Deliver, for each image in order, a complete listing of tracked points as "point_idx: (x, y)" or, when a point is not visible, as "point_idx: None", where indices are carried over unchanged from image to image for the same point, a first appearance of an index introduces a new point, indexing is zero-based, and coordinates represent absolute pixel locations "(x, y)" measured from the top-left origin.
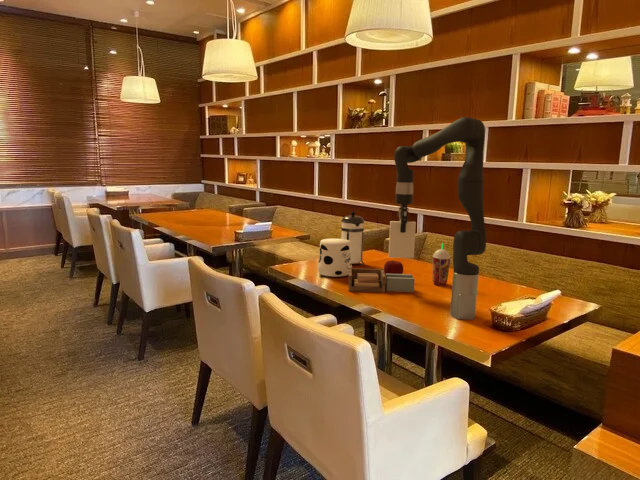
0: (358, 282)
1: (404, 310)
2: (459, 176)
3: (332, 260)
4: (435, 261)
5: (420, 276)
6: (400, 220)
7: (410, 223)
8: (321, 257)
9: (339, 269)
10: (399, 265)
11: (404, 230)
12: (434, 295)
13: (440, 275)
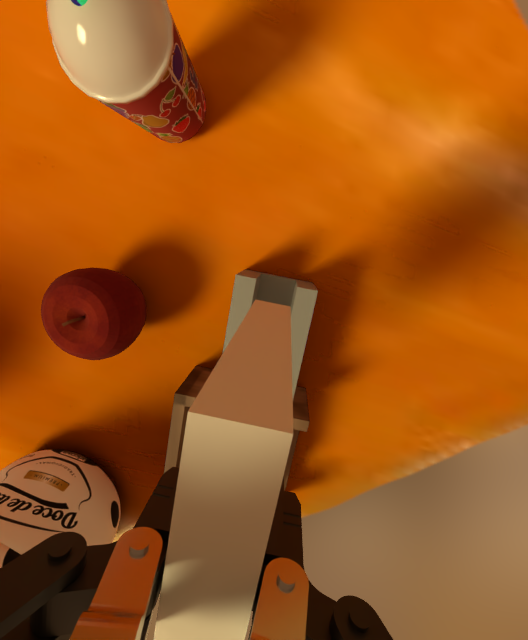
0: None
1: (485, 375)
2: None
3: None
4: (153, 104)
5: (54, 159)
6: (146, 631)
7: (275, 502)
8: None
9: (108, 522)
10: (114, 300)
11: (300, 507)
12: (337, 203)
13: (196, 104)
